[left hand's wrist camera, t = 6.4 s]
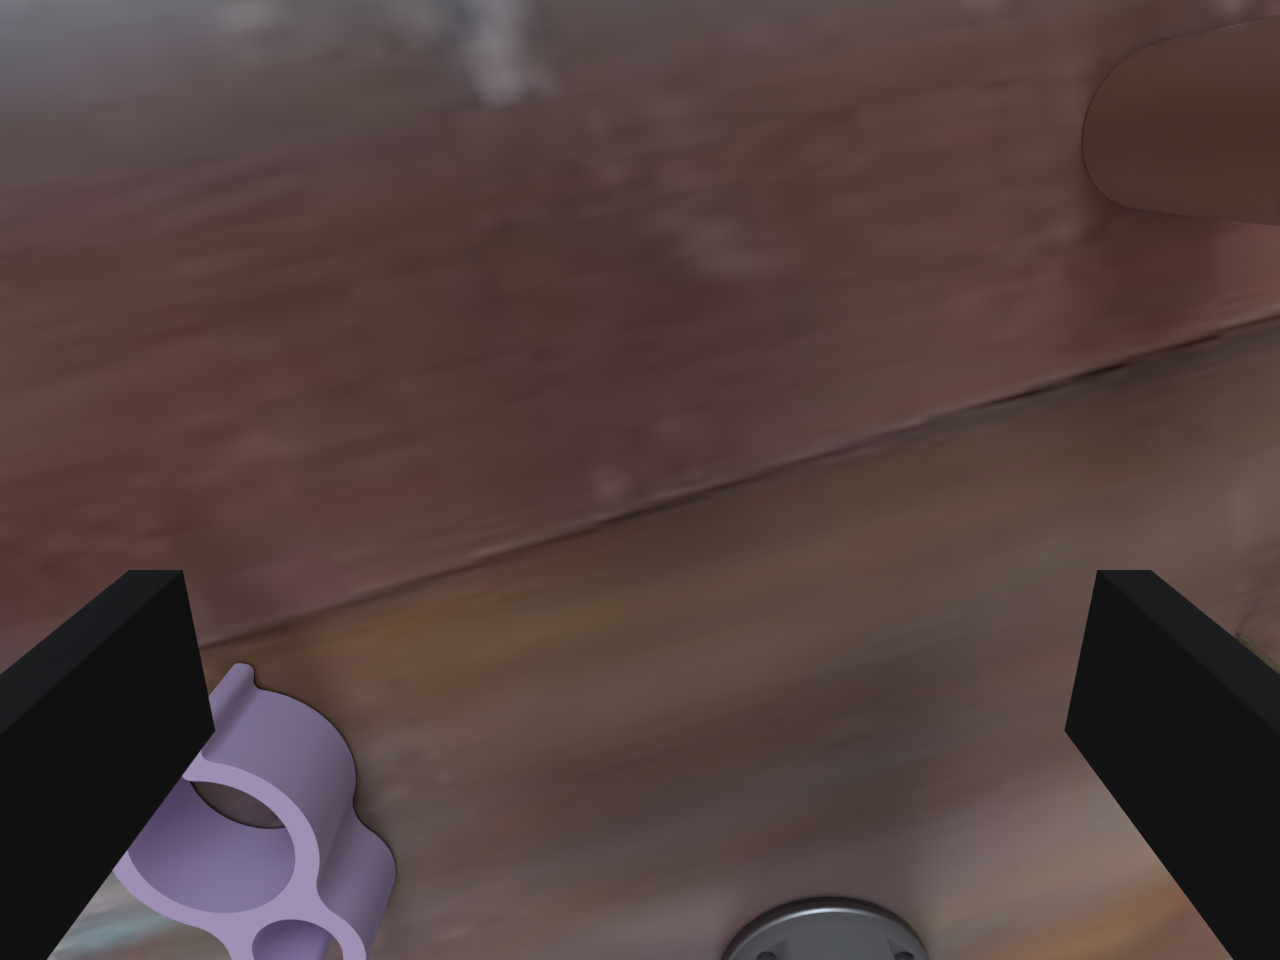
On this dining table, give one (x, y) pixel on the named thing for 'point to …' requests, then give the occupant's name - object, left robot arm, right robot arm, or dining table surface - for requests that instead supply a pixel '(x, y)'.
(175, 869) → the clip
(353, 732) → the dining table surface
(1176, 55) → the bottle
